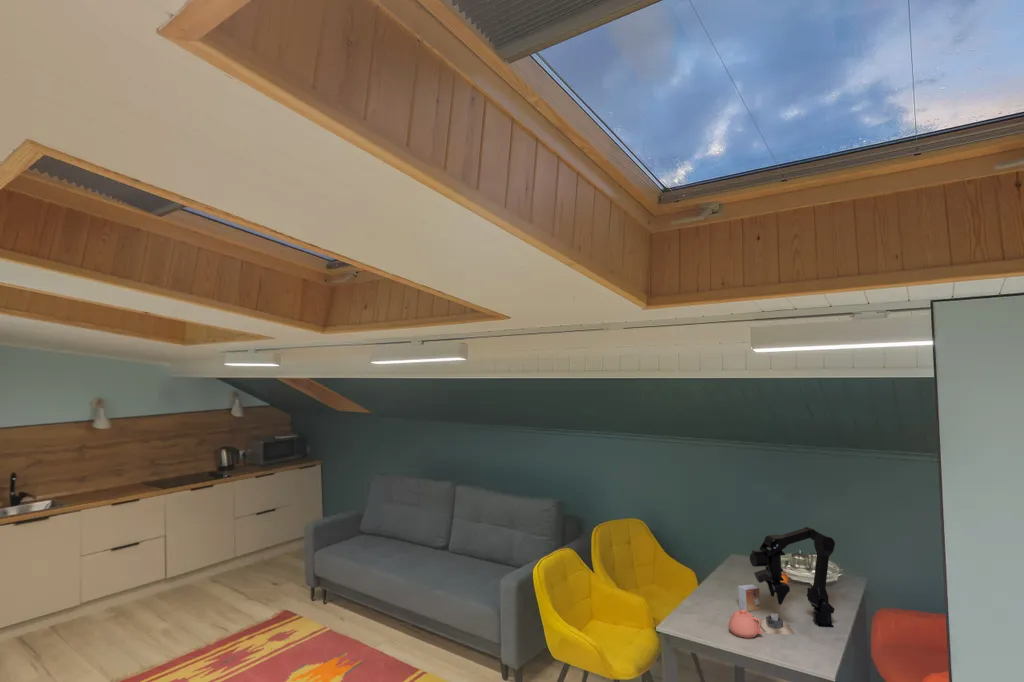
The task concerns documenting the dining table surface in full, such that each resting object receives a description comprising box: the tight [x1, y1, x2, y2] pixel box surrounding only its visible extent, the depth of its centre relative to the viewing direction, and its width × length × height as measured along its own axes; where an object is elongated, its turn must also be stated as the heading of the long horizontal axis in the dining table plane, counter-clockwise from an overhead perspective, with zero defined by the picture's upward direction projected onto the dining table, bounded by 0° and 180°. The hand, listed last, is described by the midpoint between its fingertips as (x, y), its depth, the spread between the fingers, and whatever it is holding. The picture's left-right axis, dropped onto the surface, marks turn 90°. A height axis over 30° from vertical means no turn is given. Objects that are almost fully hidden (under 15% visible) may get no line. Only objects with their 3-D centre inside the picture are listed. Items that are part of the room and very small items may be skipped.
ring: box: [765, 615, 784, 629], centre depth 248 cm, size 6×6×3 cm
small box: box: [737, 583, 761, 612], centre depth 269 cm, size 8×6×10 cm
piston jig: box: [756, 612, 795, 636], centre depth 248 cm, size 12×12×6 cm
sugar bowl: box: [728, 608, 764, 640], centre depth 242 cm, size 12×14×10 cm
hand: (776, 600), depth 249 cm, fingers open, 9 cm apart
